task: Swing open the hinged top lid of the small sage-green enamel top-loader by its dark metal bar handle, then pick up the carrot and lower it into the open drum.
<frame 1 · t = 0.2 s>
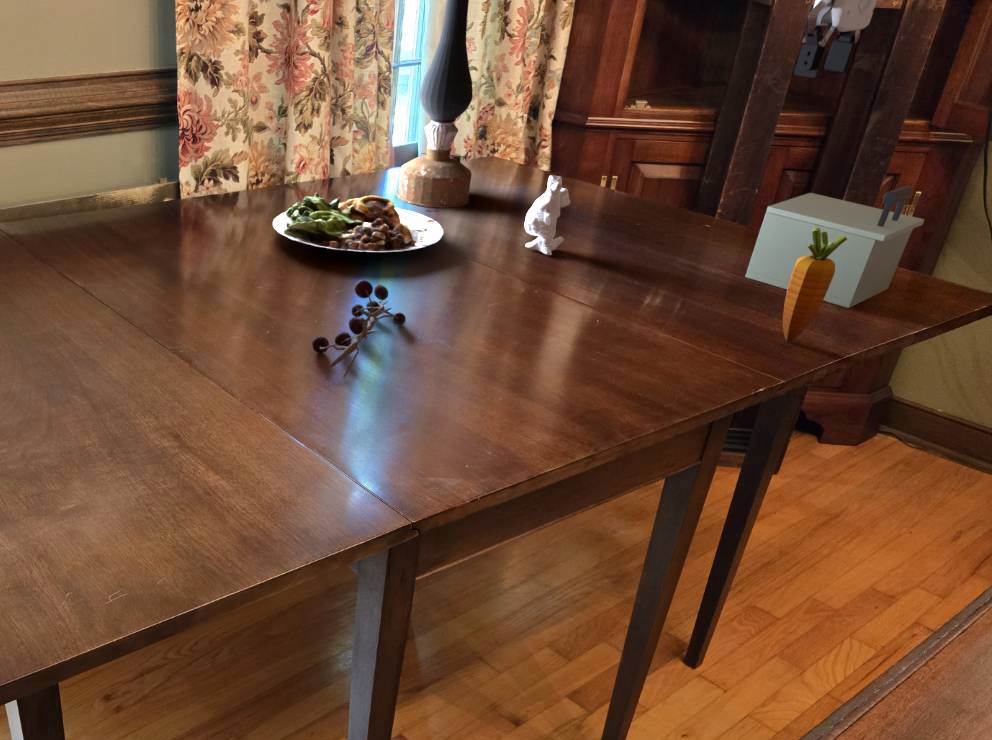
hand: (820, 73, 142), 28 cm above the table, tool pointing down, fingers open, 9 cm apart
plate of food: (356, 240, 159), on the table
washer: (815, 282, 149), on the table
oil lamp: (432, 198, 181), on the table
washer lid: (850, 199, 141), point 13 cm above the table, hinge at 0.0°
carrot: (787, 342, 129), on the table
white kangaroo figurine: (540, 250, 158), on the table
decorative branch: (358, 344, 123), on the table
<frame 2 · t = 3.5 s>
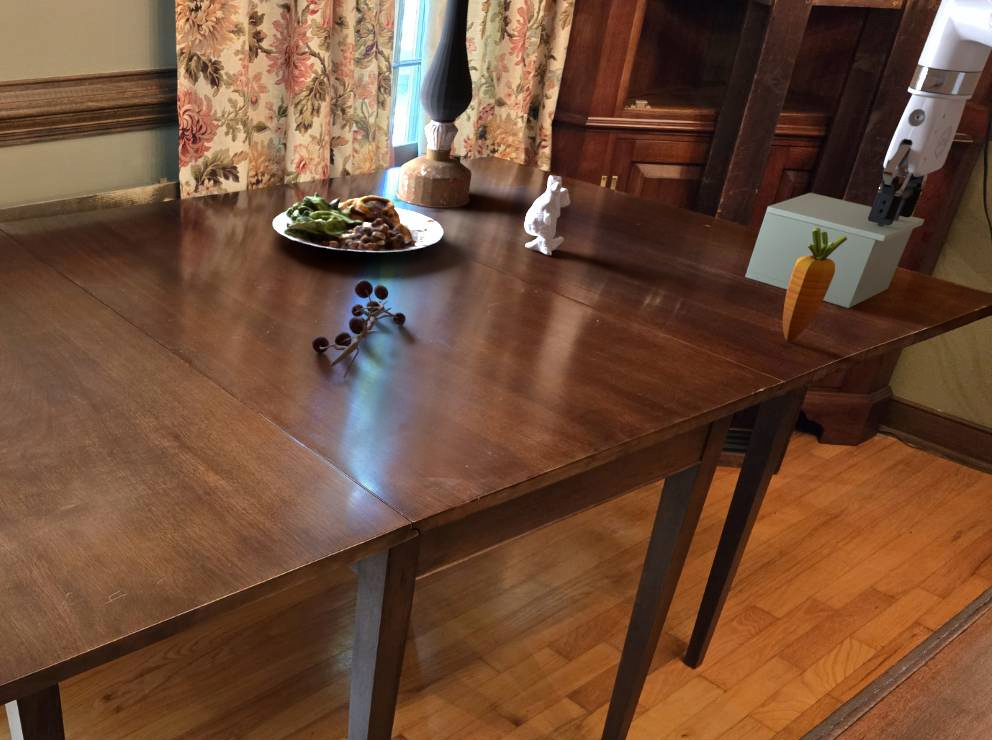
hand: (889, 217, 138), 12 cm above the table, tool pointing down, fingers closed on washer lid, 6 cm apart
washer lid: (850, 199, 141), point 13 cm above the table, hinge at 0.0°, touching gripper
everything else where it was.
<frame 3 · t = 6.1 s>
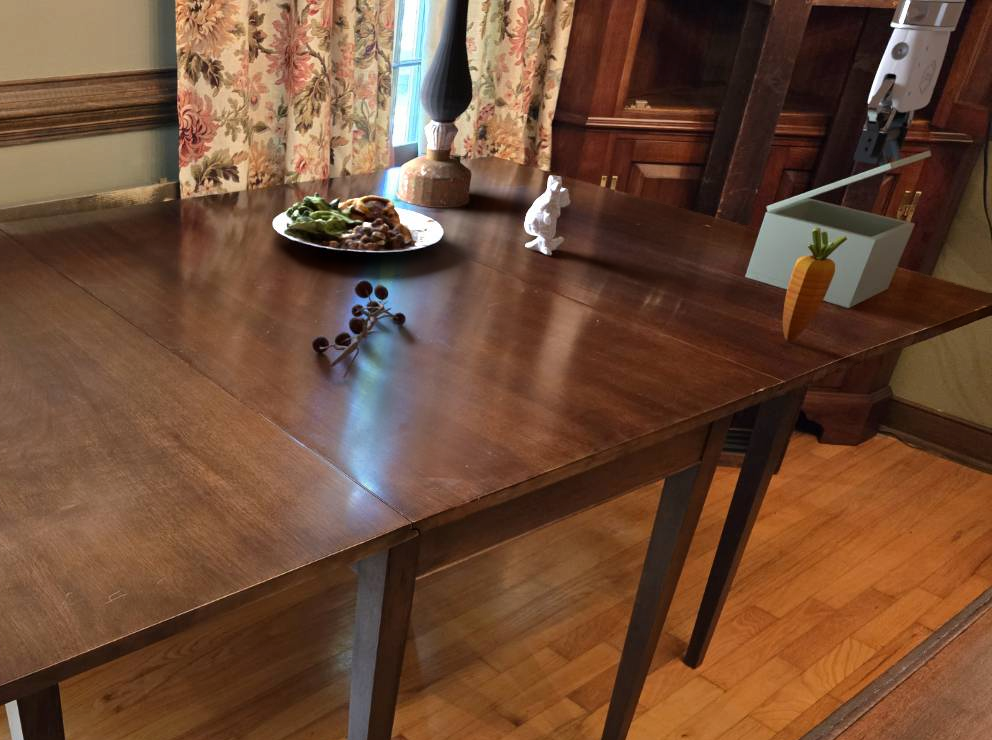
hand: (875, 157, 137), 19 cm above the table, tool pointing down, fingers closed on washer lid, 6 cm apart
washer lid: (843, 165, 140), point 17 cm above the table, hinge at 32.7°, touching gripper
everything else where it was.
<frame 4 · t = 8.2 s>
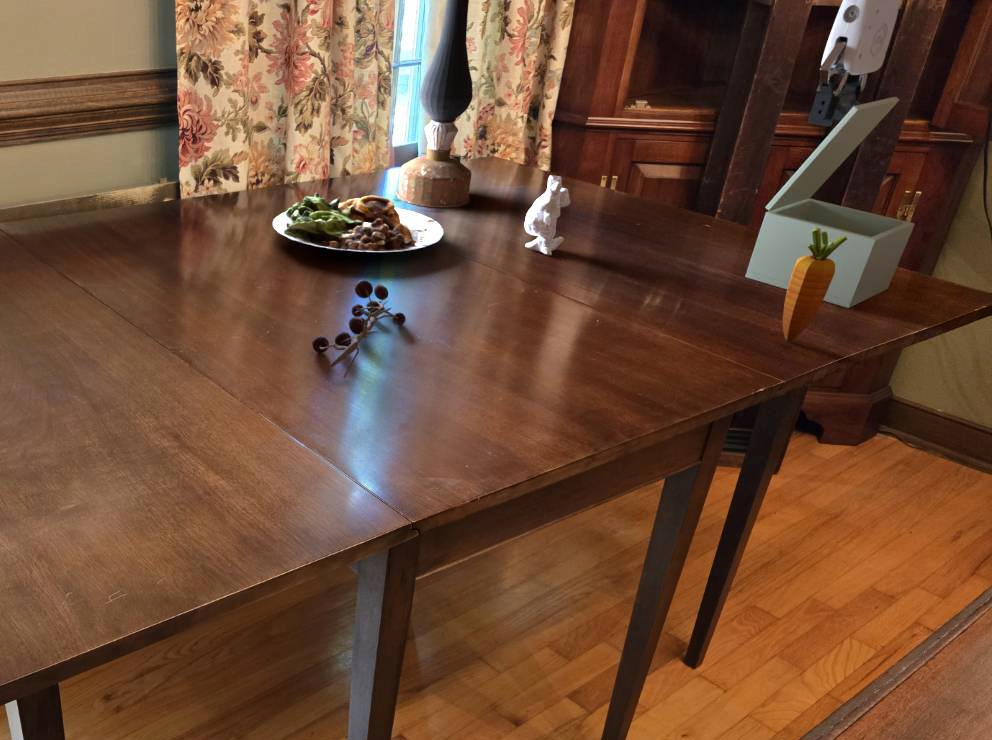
hand: (830, 121, 140), 22 cm above the table, tool pointing down, fingers closed on washer lid, 6 cm apart
washer lid: (818, 144, 142), point 19 cm above the table, hinge at 64.3°, touching gripper
everything else where it was.
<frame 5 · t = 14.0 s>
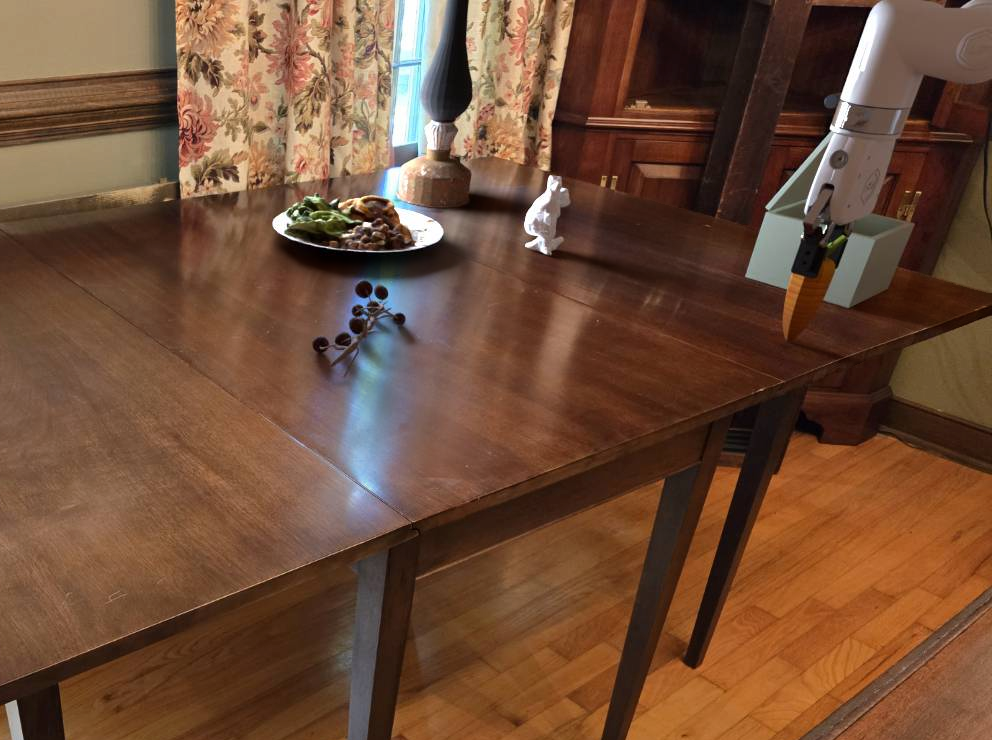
hand: (814, 269, 123), 10 cm above the table, tool pointing down, fingers closed on carrot, 5 cm apart
washer lid: (818, 144, 142), point 19 cm above the table, hinge at 64.7°
carrot: (787, 342, 129), on the table, touching gripper
everything else where it was.
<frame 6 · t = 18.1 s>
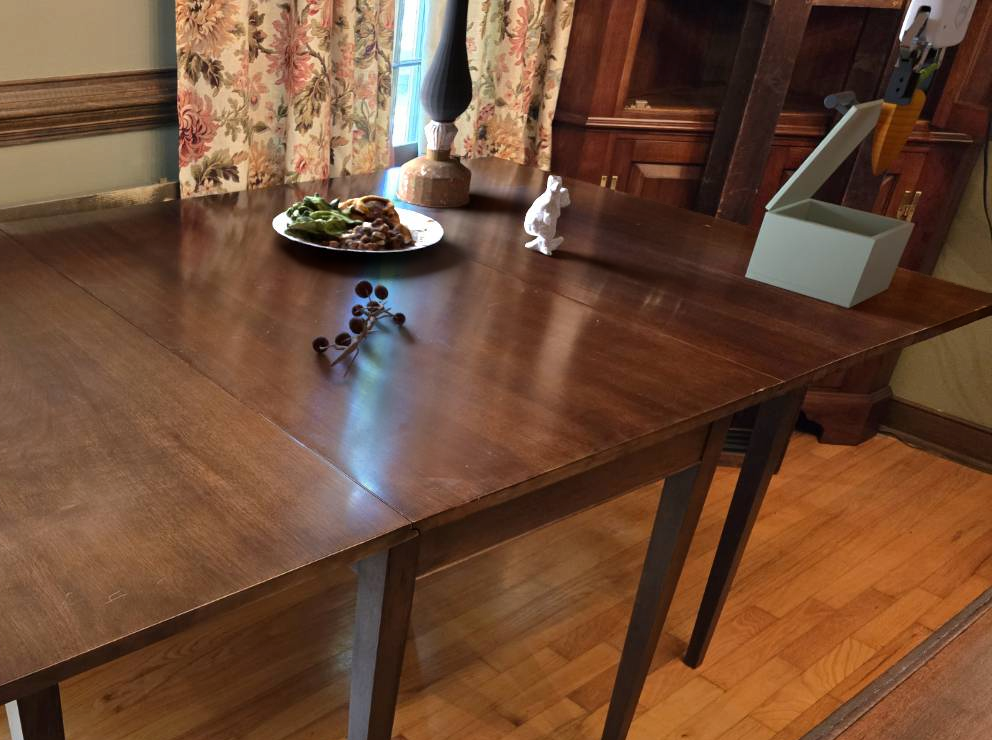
hand: (904, 100, 129), 27 cm above the table, tool pointing down, fingers closed on carrot, 5 cm apart
carrot: (875, 177, 135), point 17 cm above the table, touching gripper
everything else where it was.
when the fingers open (11 cm above the table, at t = 22.5 s): carrot stays where it is, resting on washer.
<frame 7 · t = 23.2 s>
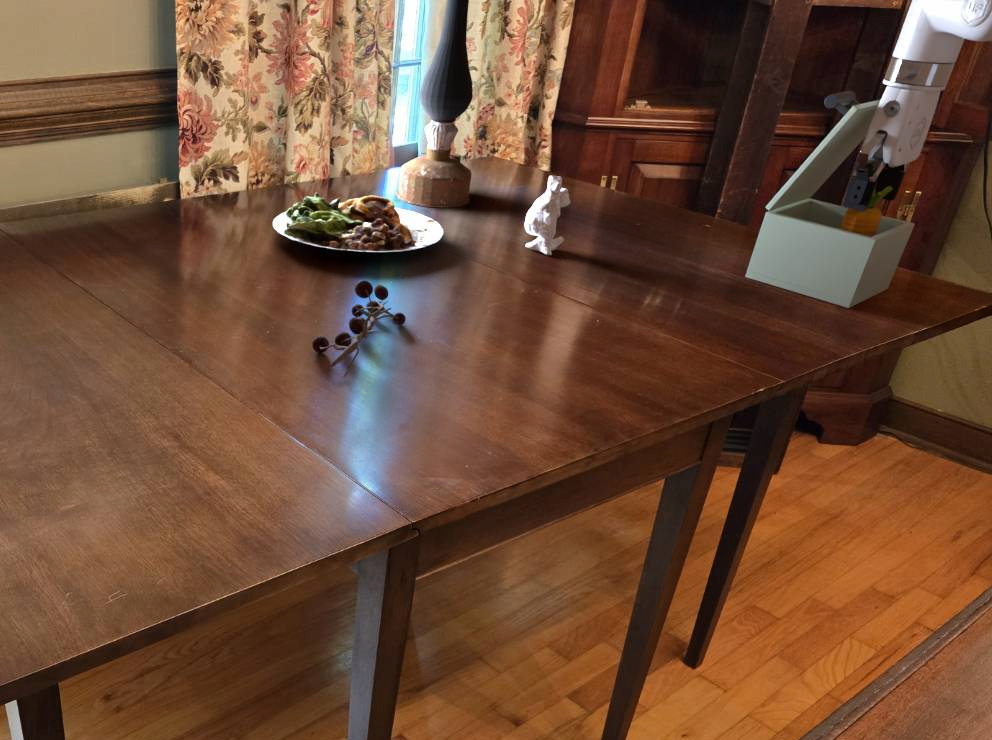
hand: (868, 203, 139), 13 cm above the table, tool pointing down, fingers open, 9 cm apart
carrot: (837, 283, 146), point 1 cm above the table, touching washer
everything else where it was.
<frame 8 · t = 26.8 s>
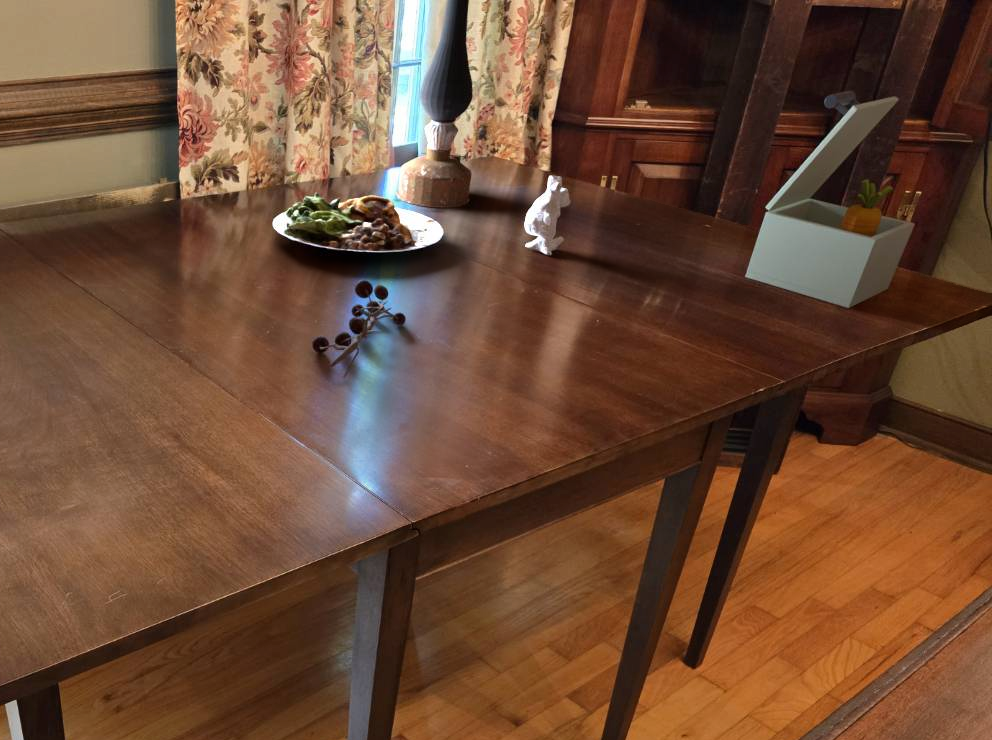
nothing on the table moved.
at the end: washer lid at +65° (first picture: +0°); carrot inside the target area in the washer (3.0 cm from its centre), point 0.8 cm above the washer's base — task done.
